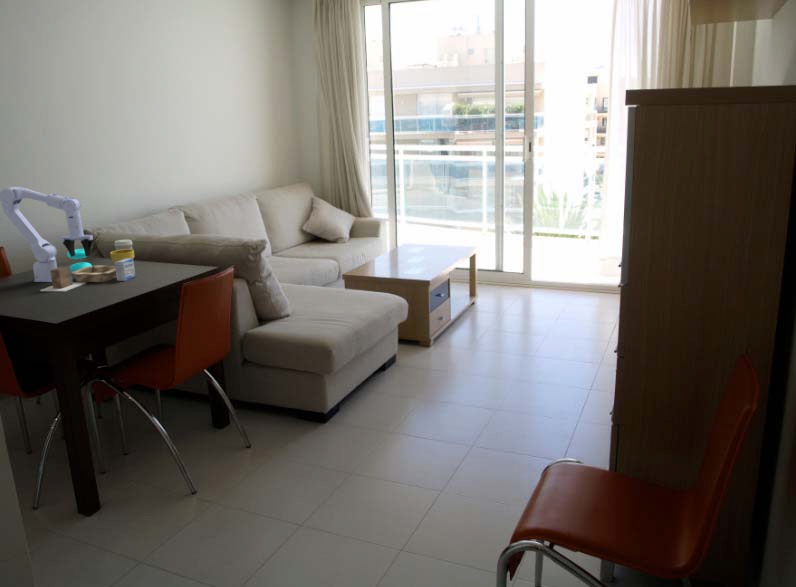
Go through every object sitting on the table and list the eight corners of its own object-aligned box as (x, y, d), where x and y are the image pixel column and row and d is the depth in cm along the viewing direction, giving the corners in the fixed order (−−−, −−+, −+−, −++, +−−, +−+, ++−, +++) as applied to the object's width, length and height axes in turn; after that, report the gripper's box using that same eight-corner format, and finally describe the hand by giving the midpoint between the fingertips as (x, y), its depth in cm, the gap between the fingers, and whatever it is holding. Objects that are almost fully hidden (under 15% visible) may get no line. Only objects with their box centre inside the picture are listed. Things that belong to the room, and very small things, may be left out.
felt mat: (40, 291, 289) (39, 290, 289) (62, 283, 302) (62, 282, 302) (64, 291, 287) (64, 290, 287) (86, 283, 300) (85, 282, 300)
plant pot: (110, 274, 315) (107, 254, 313) (116, 270, 325) (113, 249, 322) (134, 273, 317) (131, 252, 314) (138, 268, 326) (135, 248, 324)
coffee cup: (119, 263, 340) (116, 239, 337) (137, 262, 341) (134, 238, 338) (114, 267, 332) (111, 242, 329) (133, 265, 333) (129, 241, 330)
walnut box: (52, 288, 291) (49, 269, 289) (64, 284, 298) (60, 266, 296) (62, 288, 290) (59, 270, 288) (73, 284, 297) (70, 266, 295)
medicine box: (125, 281, 301) (123, 262, 299) (116, 281, 302) (114, 262, 300) (136, 277, 309) (133, 258, 306) (127, 276, 310) (124, 258, 307)
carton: (67, 282, 302) (66, 273, 301) (92, 274, 319) (90, 265, 317) (106, 283, 298) (104, 274, 297) (128, 274, 314) (127, 265, 313)
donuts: (94, 249, 326) (75, 253, 318) (97, 269, 328) (78, 273, 320) (80, 247, 331) (62, 251, 323) (84, 267, 333) (65, 272, 325)
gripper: (54, 227, 302) (60, 257, 305) (83, 227, 299) (89, 257, 302) (65, 225, 308) (70, 254, 312) (93, 224, 305) (98, 254, 309)
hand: (80, 255), depth 307 cm, fingers open, 7 cm apart
